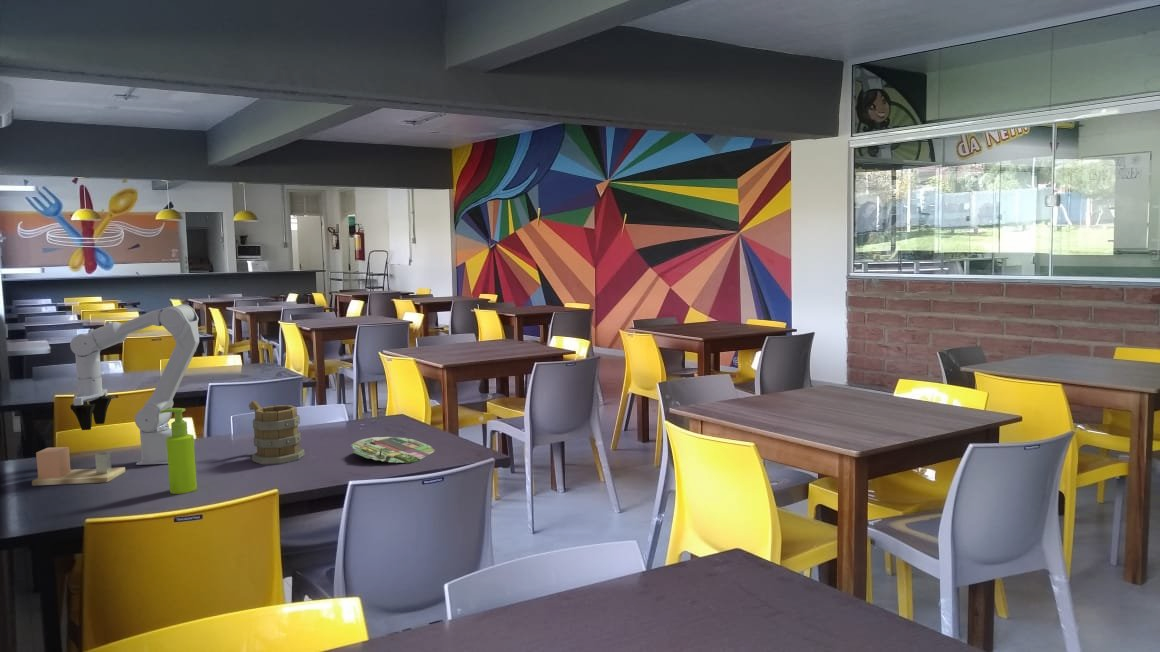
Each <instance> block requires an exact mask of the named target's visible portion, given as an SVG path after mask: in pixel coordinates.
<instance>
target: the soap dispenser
mask: <svg viewBox="0 0 1160 652" xmlns="http://www.w3.org/2000/svg"><path fill="white" fill-rule="evenodd" d="M166 412H172V413H174V421H173V422H171V423H170V424H171V425H170V427H171V428H170V429H172V436H170V437H168V438H166V442H167V456H168V464H167V467H168V481H169V482H168V483H169V493H170V494H174V495H179V494H188V493H192V492H195V491H197V489H198V483H197V482H198V481H197V470H196V468H197V467H196V455H195V440H194V438H195V437H194V435H193V434H190V433H189V432H188V423H187V421H185V420H183V419H184V418H183V412H186V408H184V407H183V408H182V407H172V408H170V409H165V410H163V411H160V413H166Z"/></svg>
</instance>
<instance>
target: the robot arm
mask: <svg viewBox="0 0 1160 652" xmlns="http://www.w3.org/2000/svg"><path fill="white" fill-rule="evenodd" d="M199 319H200V318H199V316H198V315H197V312H196V311H195V309H194V308H193V307H192V306H190V305H188V304H186V303H184V304H183V303H181V304H179V305H175V306H166V307H165V308H160V309H159V308H158V309H155V310H152V311H148V312H146V313H145V314H141V315H140V316H138V317H134V318H133V319H130V320H127V321H126V322H123V323H122V322H121V323H120V322H118V321H113V322H112V321H110V320H109V321H107V322H105V323H104V325H103V326H100V327H98V328H95V329H94V328H90V329H88V332H87V333H79V334H77V335H75V336H73V338H72V339H71V340H70V344H69V345H70V346H69V347H70V350H71V351H72V353H73V354H74V356H75V368H76V369H75V370H76V380H77V381H76V382H77V392H78V393H74V394H73V400H72V401H73V403H72V404H70V407H69V408H70V410H71V411H72V412H73V413H74V415H75V417H76V419H77V422H78V424H79V426H80V429H81V431H91V430H92V425H93V424H92V423H93V420H94V424H95V425H104V424H105V422H106V417H107V411H108V409H109V405H110V403H111V401H112V396H108V389H107V388H103V379H102V378H103V377H102V367H101V366H102V365H101V354H100V353H101V351H102V350H105V349H108V348H110V347H112V346H116V345H117V344H120V343H123V342H125V341H126V339H127V337H128V335H130V334H132V333H135V332H137V331H140V330H144V329H146V328H149V327H151V326H155V327H163V328H164V329H166V331H167V332H168V333H169V334H170V335H171V336H172V337H173V340H174V341H175V343H176V344H175V346H174V348H173V350H172V353H171V355H170V357H169V358H168V361H167V363H166V365H165V367H164V370H163V372H162V374H161V376H160V379H159V380H158V382H157V384H156V387H155V389H154V390H153V393H152V395H151V396H150V397H149V398H148V399H147V400H146V402H145V403H144V406H143V407H142V408H141V409H139V410H138V412H137V413H136V414H135V415H134V416H135V417H134V423H135V425H136V427H137V428H138V429H139V435H140V436H139V437H140V439H139V440H140V449H141V450H140V451H141V452H140V453H141V460H140V461H138V462H136V463H135V465H136V466H143V465H144V466H146V465H166V464H167V465H168V456H167V442H166V438H168V437H170V436H172V429H171V428H170V425H169V421H171V418H172V413H173V412H166V413H160V411H163V410H165V409H170V408H173V406H174V400H173V399H174V397H175V395H176V393H177V391H178V389H179V387H180V384H181V382H182V380H183V378H184V376H185V374H186V371H187V369H188V368H189V365H190V363H191V361H192V359H193V357H194V355H195V353H196V351H197V349H198V346H199V344H200V335H199V324H198V323H199Z"/></svg>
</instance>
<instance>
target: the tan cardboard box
mask: <svg viewBox="0 0 1160 652" xmlns="http://www.w3.org/2000/svg"><path fill="white" fill-rule="evenodd" d="M35 454H36V455H35V456H36V467H37V478H56V477H62V476H64V475H66V474H68V473H70V472H71V470H72V469H71V461H70V460H71V459H70V458H71V457H70V447H69V446H59V447H58V446H57V447H55V446H54V447H46V448H44V449H41V450H39V451H37V452H35Z"/></svg>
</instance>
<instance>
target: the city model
mask: <svg viewBox="0 0 1160 652" xmlns="http://www.w3.org/2000/svg"><path fill="white" fill-rule="evenodd" d="M350 446H351V447H352V449H353V452H352V453H353V454H355V455H358V456H361V457H362V458H366V459H372V460H374V461H381V462H388V463H396V464H397V463H405V464H406V465H408V464H411V463H416V462H418V461H421V459H424V458H425V457H427V456H429V455H431V454H432V453H434V452H435V451H436V449H434V448H433V446H431V445H429V443H424V442H421V441H418V440H417V439H413V438H407V437H397V436H396V437H394V436H381V437H380V436H376V437H375V436H374V437H369V438H367V437H366V438H363V439H360V440H357V441H355V442H353V443H352V444H350Z"/></svg>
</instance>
